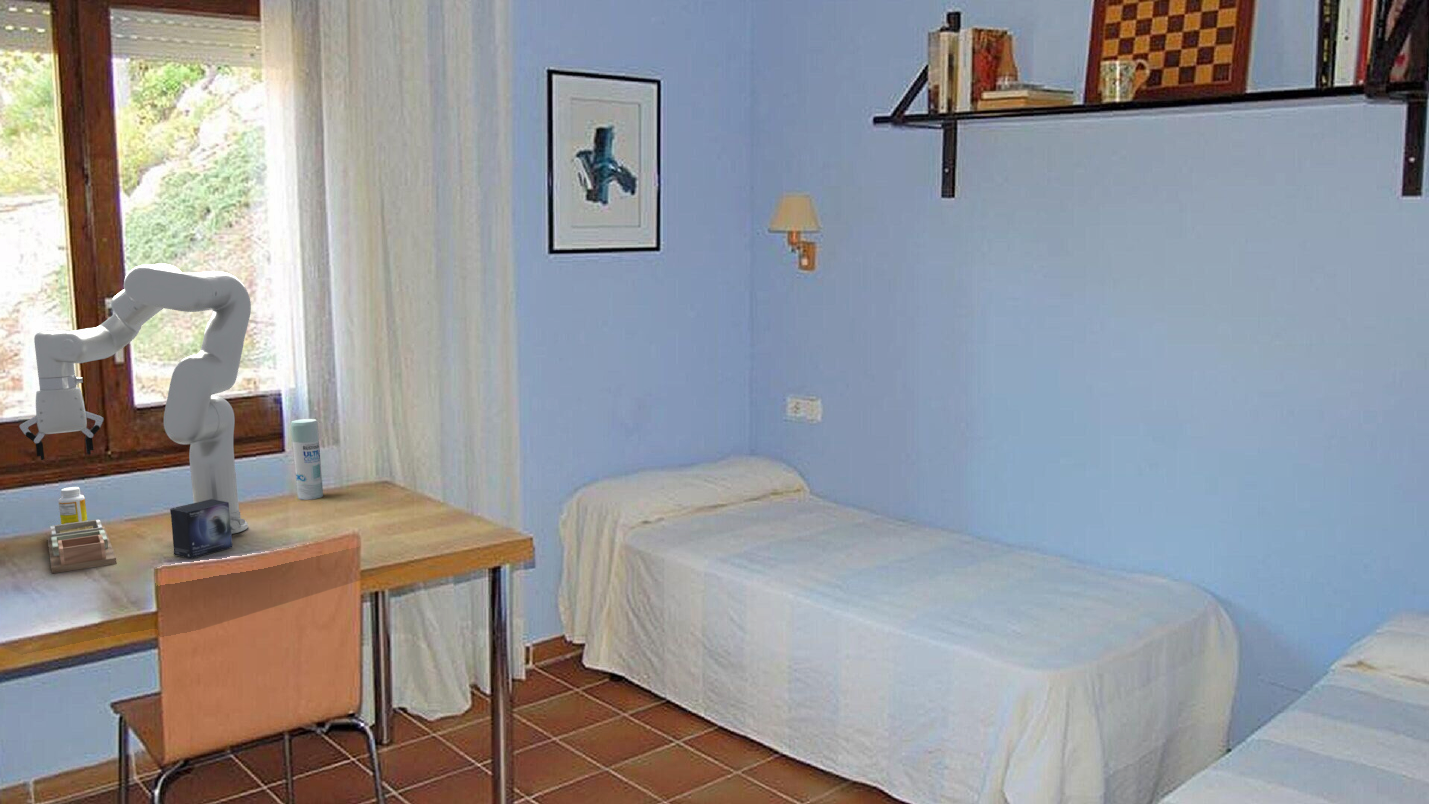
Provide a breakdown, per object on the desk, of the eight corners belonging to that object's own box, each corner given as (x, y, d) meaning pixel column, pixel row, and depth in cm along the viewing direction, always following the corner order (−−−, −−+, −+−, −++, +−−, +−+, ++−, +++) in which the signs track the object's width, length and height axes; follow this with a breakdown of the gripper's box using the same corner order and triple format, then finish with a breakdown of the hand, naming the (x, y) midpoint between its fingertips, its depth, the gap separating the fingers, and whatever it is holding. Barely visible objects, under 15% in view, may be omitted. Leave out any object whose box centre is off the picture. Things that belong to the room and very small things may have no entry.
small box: (191, 559, 258) (186, 511, 256) (172, 556, 261) (167, 508, 260) (234, 547, 267) (229, 500, 265) (215, 544, 270) (211, 498, 268)
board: (116, 563, 257) (114, 541, 256) (52, 573, 251) (49, 551, 250) (105, 531, 286) (102, 511, 285) (47, 539, 280) (44, 519, 279)
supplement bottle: (82, 526, 291) (77, 485, 290) (92, 529, 288) (87, 487, 286) (58, 531, 287) (53, 489, 285) (68, 535, 283) (62, 492, 282)
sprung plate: (94, 535, 275) (94, 531, 275) (61, 540, 272) (60, 536, 272) (93, 529, 281) (92, 525, 281) (59, 533, 278) (59, 530, 278)
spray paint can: (308, 500, 310) (301, 423, 307) (292, 498, 314) (285, 422, 311) (329, 495, 316) (322, 419, 313) (312, 493, 319) (306, 418, 316)
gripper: (98, 379, 290) (105, 449, 292) (14, 385, 281) (23, 458, 284) (100, 382, 283) (108, 454, 286) (15, 389, 275) (23, 463, 277)
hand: (65, 456), depth 285 cm, fingers open, 9 cm apart
